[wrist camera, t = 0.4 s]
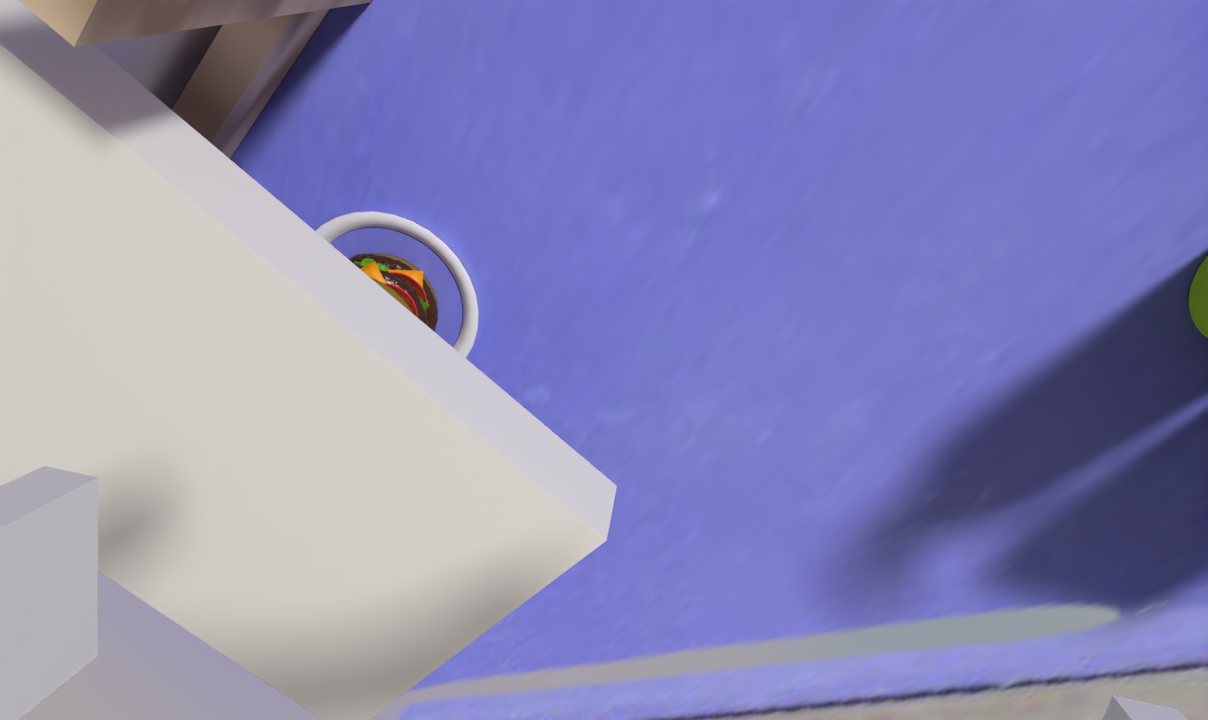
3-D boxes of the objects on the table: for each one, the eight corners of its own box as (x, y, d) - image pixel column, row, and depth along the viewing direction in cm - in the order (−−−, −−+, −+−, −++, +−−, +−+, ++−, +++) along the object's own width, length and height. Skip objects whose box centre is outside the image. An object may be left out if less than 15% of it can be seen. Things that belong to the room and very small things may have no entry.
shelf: (204, -22, 31) (-62, -7, 20) (638, 370, 37) (606, 540, 26) (49, 248, 38) (-211, 365, 27) (437, 544, 43) (346, 736, 33)
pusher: (343, -171, 28) (-37, -295, 14) (430, -84, 29) (157, -117, 15) (134, 174, 35) (-253, 323, 21) (209, 235, 36) (-115, 416, 22)
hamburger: (250, 345, 40) (184, 399, 35) (301, 124, 34) (231, 152, 29) (469, 440, 40) (435, 507, 36) (554, 241, 35) (528, 287, 30)
